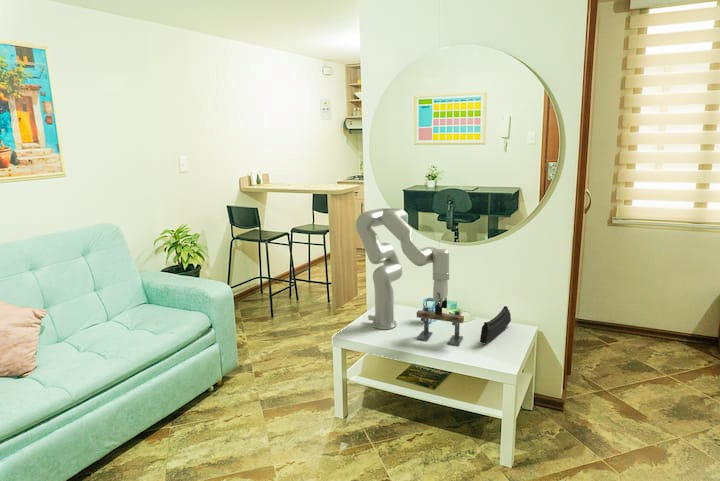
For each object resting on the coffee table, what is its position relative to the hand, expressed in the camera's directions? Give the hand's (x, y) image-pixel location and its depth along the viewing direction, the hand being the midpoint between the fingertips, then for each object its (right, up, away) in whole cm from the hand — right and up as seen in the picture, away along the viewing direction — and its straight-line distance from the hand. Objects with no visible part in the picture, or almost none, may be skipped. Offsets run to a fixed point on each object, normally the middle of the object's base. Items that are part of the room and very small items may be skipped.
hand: (441, 311), depth 228 cm
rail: (0, -3, +1) cm, 3 cm away
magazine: (+28, -13, +8) cm, 32 cm away
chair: (-2, -9, +27) cm, 29 cm away
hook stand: (0, -14, +3) cm, 15 cm away
